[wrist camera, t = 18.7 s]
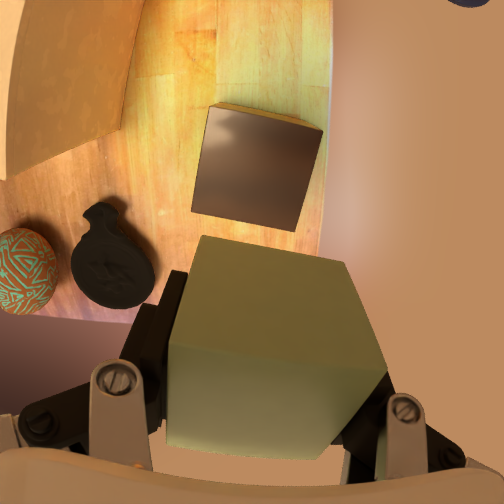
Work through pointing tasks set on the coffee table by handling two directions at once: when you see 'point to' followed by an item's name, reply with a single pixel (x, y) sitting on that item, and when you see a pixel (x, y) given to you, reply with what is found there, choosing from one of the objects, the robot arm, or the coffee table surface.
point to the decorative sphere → (26, 271)
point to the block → (267, 353)
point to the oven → (61, 75)
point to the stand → (255, 166)
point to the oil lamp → (111, 262)
